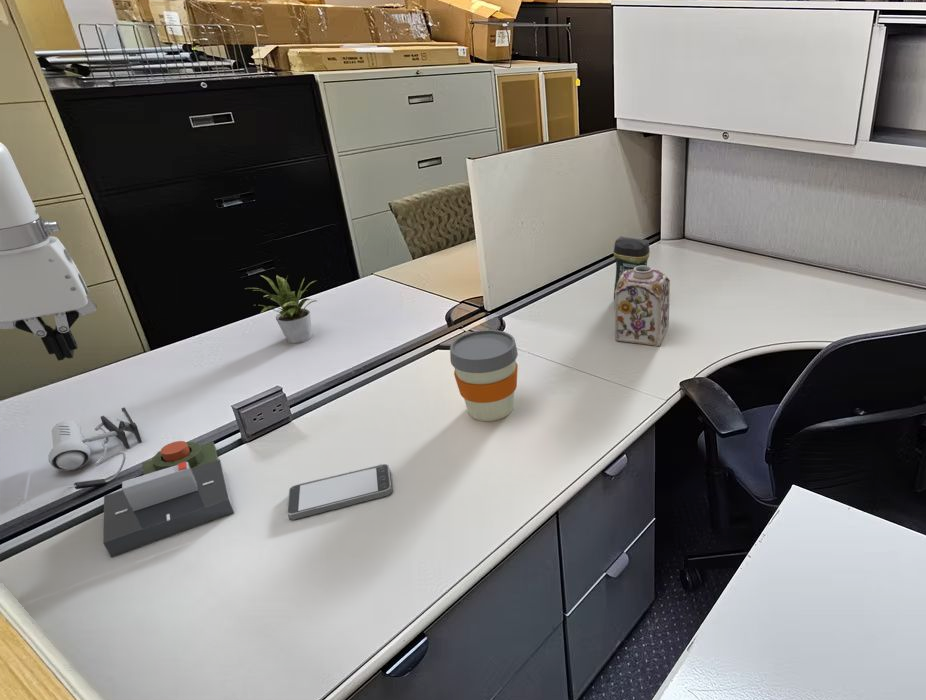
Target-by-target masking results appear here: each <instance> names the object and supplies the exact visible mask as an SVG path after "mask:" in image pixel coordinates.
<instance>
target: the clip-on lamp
mask: <svg viewBox="0 0 926 700" xmlns="http://www.w3.org/2000/svg"><path fill="white" fill-rule="evenodd" d="M121 412H122V413H121V414H120V416H119V417H113V416H112V417H110V416H105V415H101V416H100V420H101V423H99V424H98V425H97V426H96V427H95V428H94V430H95V432H98V431H99V430H101V431H102V433H99V434H95V435H89V436H86V437H84V435H83V433H82V429H81V425H80V424H79V423H77V422H76V421H73V420H64V421H59V422H58V423H56V424H55V425H54V426H52V429H51V438H52V448H51V449H50V451H49V453H48V456H47V458H48V463H49V464H50V465H51V467H52V468H53V469H56V470H59V471H62V472H63V471H73V470H77V469H80V468H82V467H84V466H85V465H86V464H88V462H89V461H90V459H91V457H92V451H91V449H90V447H89V446H88V444H87V443H91V442H94V441H99V440H100V441H101V440H103V439H105V440H104V441H101V445H102V447H103V449H104V451H103V453H102V455H101V456H100V457H99V458H98V459H97V460H96V462H95V463H94V465H95V467H98V466H100V465H102V464H104V463H105V462H107V461H108V460H110V459H112V458H115V457H116V456H118V455H122V457H123V458H122V462H121V464H120V467H119V468H118V470H117V471H116V473H115V474H114V475H113V476H112V477H111V478H108V479H107V480H105V479H104V478H99V479H91V480H82V481H77V482H74V483H73V485H68V486H67V489H73V488H74V489H75V490H83V489H90V488H96V487H104V486H105V485H106V484H107V483H109V482H112V481H113V480H114V479H115V478H117V477H118V475H119V474H120V472H121V471H122V469H123V468H124V466H125V463H126V459H127V457H126V455H127V454H126V453H125V451H122V450H120V451H117V452H114V453H112V454H110V455H108V456H106V455H107V452H108V448H107V446H106V445H107V444H108V443H109V438H113V437H115V438H117V439H118V440H119V441H120V442H121V443H122V445H123V447H124V448H125V449H130V445H129V441H128V438H127V435H126V432H128V433H131V434H133V435H134V436H135V439H136V441H137V442H138V444H140V443H142V442H143V441H142V437H141V435H140V431H139V427H138V426H137V423H136V422H134V421H133V419H132V418H131V416H130V414H129V413H128V411H127V408H126V407H122V408H121ZM102 427H104V428H105V429H106V430H107V431H108V432H106V430H105V429H104V428H102ZM105 456H106V457H105ZM103 485H104V486H103Z"/></svg>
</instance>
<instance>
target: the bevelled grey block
mask: <svg viewBox="0 0 926 700" xmlns="http://www.w3.org/2000/svg"><path fill="white" fill-rule="evenodd" d="M121 490H123V492H124V494H125V496H126V498H127V500H128V502H129V504H130V506H131V508H132V510H133V511H137V510H140V509H143V508H146V507H149V506H152V505H155V504H158V503H161V502H164V501H167V500H170V499H173V498H176V497H179V496H182V495H185V494H189V493H192V492H195V491H198V486H197V482H196V480H195V477H194V475H193V473H192V470H191V468H190V466H189V463H188V462H186V461H185V462H182V463H179V464H178V465H175V466H172V467H169V468H166V469H162V470H159V471H156V472H152V473H149V474H146V475H143V474H142V475H140V476H137V477H133V478H130V479H127V480H123V481H122V482H121Z"/></svg>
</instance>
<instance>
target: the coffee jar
mask: <svg viewBox="0 0 926 700" xmlns="http://www.w3.org/2000/svg"><path fill="white" fill-rule="evenodd" d="M614 242H615V243H614V247H613V257H614V260H615V281H614V291H613V300H614V302H615V290H616V286H617V283H618V280H619V278H620V275H621V274H622V273H623V272H624V271H627V270H631V269H634V268H635V267H637V266H641V265H645V266H648V261H649V258H650V254H651V251H650V243H649V240H648V239H641V238H634V237H626V236H619V237H617V239H616V240H615V241H614Z"/></svg>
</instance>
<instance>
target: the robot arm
mask: <svg viewBox="0 0 926 700" xmlns="http://www.w3.org/2000/svg"><path fill="white" fill-rule="evenodd" d="M60 228H61V227H60V225H59V223H58V221H57V220H54V221H50V220H46V219H42V216H40V215H39V213H38V210H37V209H36V207H35V204H34V202H33V200H32V198H31V196H30V194H29V192H28V190H27V187H26V185H25V183H24V181H23V179H22V176H21V174H20V172H19V170H18V167H17V165H16V163H15V161H14V159H13V157H12V155H11V153H10V151H9V149H8V148H7V146H6V145H5V144H4V143H2V142H1V141H0V330H15V329H18V330H20V331H24V332H26V333H30V334H32V335H34V336H35V337H37V338H40V340H41V341H42V344H43V345H44V347H45V349H46V351H47V353H48V355H54V356H55V357H56V359H57V361H59V362H60V361H63V360H64V359H68V360H69V359H73V358H74V353H75V350H78V349H79V346H78V343H77V340H76V339H75V337H74V335H73V333H72V330H71V328H72V326H73V325H74V324H75V322H76V321H77V320H78V319H79V318H81V317H84V316H87V315H89V314H93V313H94V312H96V311H97V304H96V302H95V301H94V300H93V299H92V298H91V297H90V292H89V288H88V287H87V284H86V282H85V280H84V278H83V276H82V274H81V272H80V271H79V268H78V266H77V265H76V263H75V262H74V259H73V258H72V256H71V254H70V253H69V251H68V250H67V249H66V247H65V246H64V244H63V243H62V242H61V240H60V239H59V238H58V237H57V236H50V235H51V234H53V233H54V232H61V229H60ZM51 315H53V318H54V322H55V328H53V327H52V326H50V325H49V324H48V323H47V322H46V321H45V319H44V318H43V317H45V316H51Z"/></svg>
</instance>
